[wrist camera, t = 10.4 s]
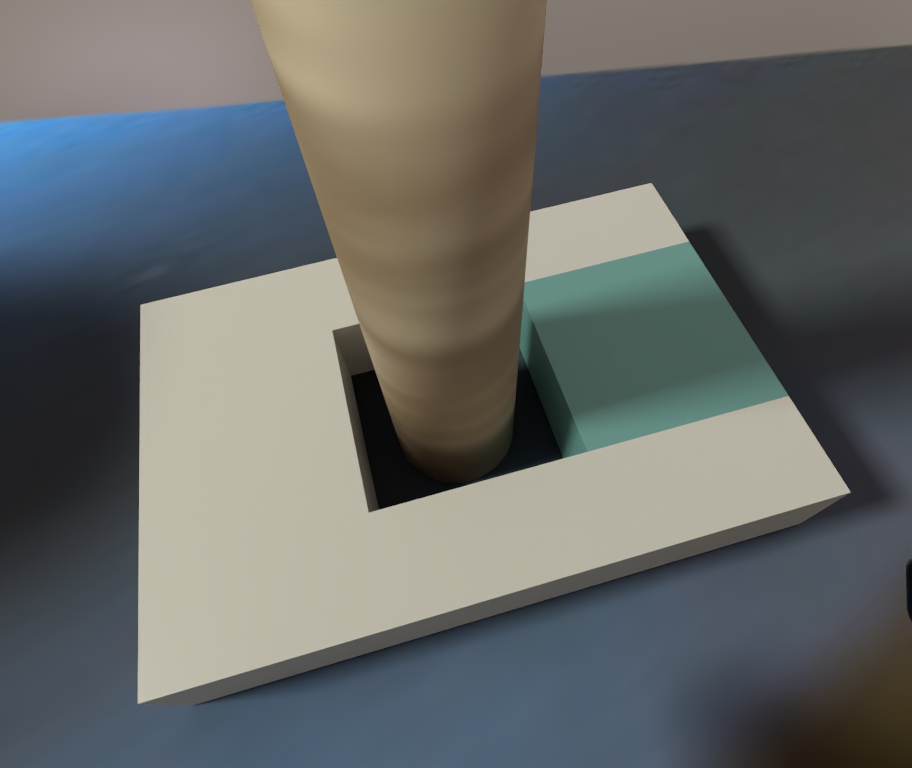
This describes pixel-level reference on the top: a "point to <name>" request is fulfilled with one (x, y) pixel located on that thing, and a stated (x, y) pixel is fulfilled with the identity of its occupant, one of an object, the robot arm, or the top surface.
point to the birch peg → (424, 197)
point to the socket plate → (458, 510)
